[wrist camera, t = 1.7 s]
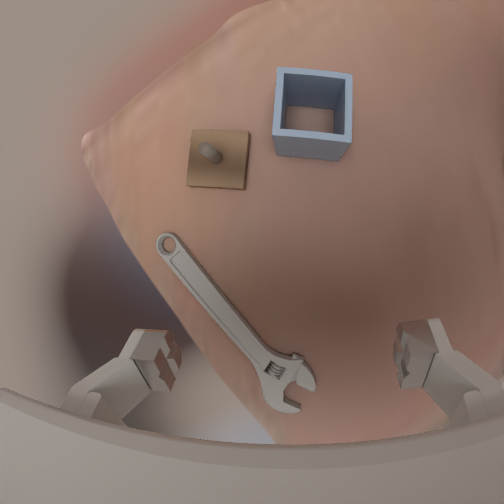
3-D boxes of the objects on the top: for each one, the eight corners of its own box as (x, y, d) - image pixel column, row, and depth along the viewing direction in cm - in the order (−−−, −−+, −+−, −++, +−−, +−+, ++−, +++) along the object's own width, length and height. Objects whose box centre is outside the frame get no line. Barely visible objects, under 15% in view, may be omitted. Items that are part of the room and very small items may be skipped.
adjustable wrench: (156, 242, 35) (149, 243, 34) (199, 208, 34) (194, 207, 33) (281, 412, 35) (280, 420, 33) (326, 387, 34) (328, 394, 32)
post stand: (196, 133, 33) (177, 117, 27) (250, 135, 32) (241, 117, 26) (190, 186, 34) (170, 180, 28) (245, 190, 33) (235, 183, 27)
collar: (281, 99, 32) (277, 66, 24) (340, 105, 31) (352, 74, 23) (276, 155, 32) (271, 135, 24) (337, 161, 32) (351, 142, 24)
